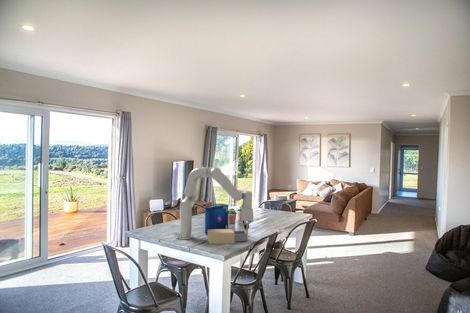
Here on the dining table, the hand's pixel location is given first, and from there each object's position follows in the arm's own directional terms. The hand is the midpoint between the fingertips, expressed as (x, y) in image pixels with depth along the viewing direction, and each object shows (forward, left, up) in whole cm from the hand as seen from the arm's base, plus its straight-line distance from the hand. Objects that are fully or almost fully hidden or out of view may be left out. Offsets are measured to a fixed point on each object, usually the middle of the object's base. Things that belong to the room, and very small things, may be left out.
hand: (246, 229), depth 255 cm
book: (-21, +24, -9) cm, 33 cm away
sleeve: (-21, 0, -9) cm, 23 cm away
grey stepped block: (-9, 0, -8) cm, 13 cm away
